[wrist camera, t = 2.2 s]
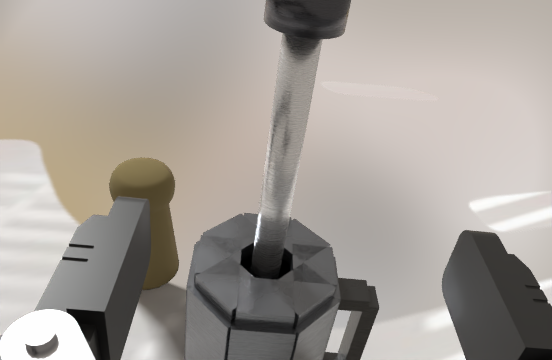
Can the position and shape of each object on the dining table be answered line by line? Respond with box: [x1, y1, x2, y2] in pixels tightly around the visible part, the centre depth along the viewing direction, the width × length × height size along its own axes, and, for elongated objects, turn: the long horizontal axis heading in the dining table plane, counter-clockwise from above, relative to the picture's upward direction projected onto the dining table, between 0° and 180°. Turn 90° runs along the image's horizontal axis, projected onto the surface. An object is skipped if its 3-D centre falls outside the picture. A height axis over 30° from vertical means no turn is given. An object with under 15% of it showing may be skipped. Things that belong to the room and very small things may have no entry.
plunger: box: [245, 0, 351, 280], centre depth 27 cm, size 6×6×21 cm
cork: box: [109, 158, 179, 290], centre depth 43 cm, size 6×6×11 cm
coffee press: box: [185, 213, 379, 360], centre depth 34 cm, size 12×9×13 cm
